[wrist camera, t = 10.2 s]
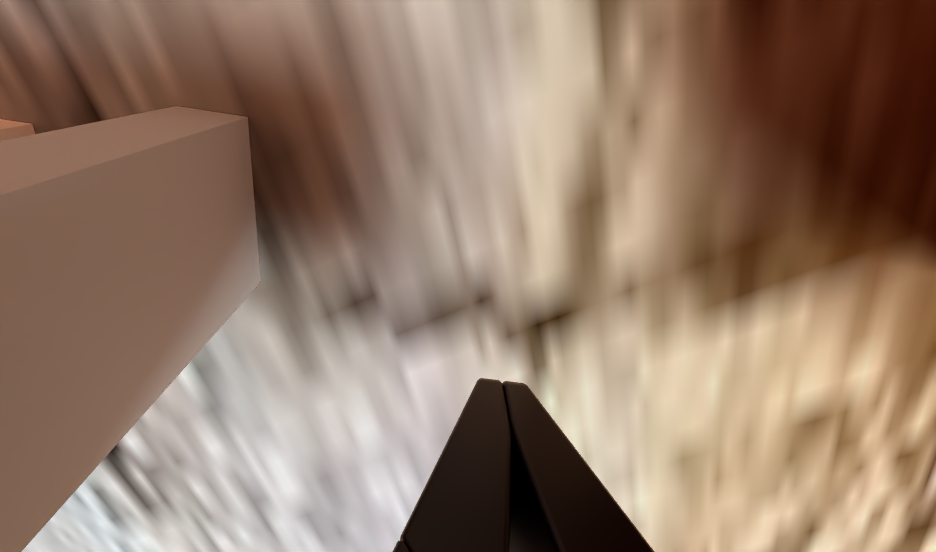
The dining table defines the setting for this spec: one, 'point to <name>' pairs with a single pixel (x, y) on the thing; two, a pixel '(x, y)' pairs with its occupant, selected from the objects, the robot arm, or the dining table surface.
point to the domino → (110, 286)
